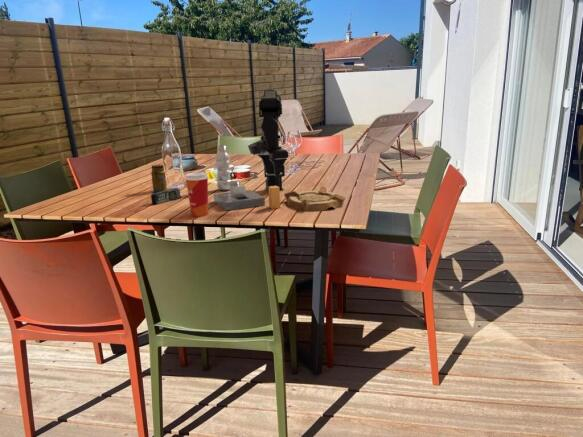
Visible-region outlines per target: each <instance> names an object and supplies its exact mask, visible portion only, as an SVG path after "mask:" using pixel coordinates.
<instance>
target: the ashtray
mask: <svg viewBox="0 0 583 437" xmlns="http://www.w3.org/2000/svg"><path fill="white" fill-rule="evenodd" d="M284 197H285V199H286V204H287V207H289V208H290V209H292V210H297V211H305V212H322V211H326V210H328V209H329V208H333V209H335V210H337V209H339V208H342V207H343V205H345V204H344V203H345V200H346V197H345V196H343V195H341V194H338V193H335V192H333V191H332V192H331V191H328V190H327V187H325V186H321V187H320V189H319V190H305V191H304V190H303V191H300V192H297V191H296V190H293V191H289V192H286V193H284Z"/></svg>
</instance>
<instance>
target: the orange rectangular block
mask: <svg viewBox="0 0 583 437" xmlns="http://www.w3.org/2000/svg"><path fill="white" fill-rule="evenodd" d="M268 189H269V190H268V207H269V209H272V210H273V209H281V197H280V196H281V195H280V191H281V190H280V188H279V187H278V186H270V187H268Z"/></svg>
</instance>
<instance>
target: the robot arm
mask: <svg viewBox="0 0 583 437" xmlns="http://www.w3.org/2000/svg"><path fill="white" fill-rule="evenodd" d="M263 93H264V94H263V95H262V96H261V97H260V100H258V117H259V118H262V123H261V131H262V135H261V136H260V140H258V141H255V142H253V143H251V144H249V145H247V147H248V150H249V152H250V154H251V155H253V156H256V155H257V157H259V158H260V159H261V160H262V161H261V162H262V163H263V170H264V171H263V172H264V174H263V175H264V178H265V190H267V191H269V189H268V187H270V186H278V187H279V188H280V191H283V190H284V188H283V178H284V177H285V176H286V174H285V172H286V171H285V170H286V168H285V163H286V161H287V160H288V158H289V155H290V154H289V151H288V150H286V149H284V148H282V146H280V139H282V138H281V135H279V133H280V130H279V118H280V117H282V116H281V115H283V103H282V97H281V96H280V95H279V94H278V91H277V89H266V90H263ZM289 159H290V158H289ZM282 177H283V178H282Z"/></svg>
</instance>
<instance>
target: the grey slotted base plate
mask: <svg viewBox="0 0 583 437" xmlns="http://www.w3.org/2000/svg"><path fill="white" fill-rule="evenodd" d="M229 190H230V192H221V193H214V194H213V201H214V203H216V204H217V205H218V206H219V207H220V208H222V209H223V210H224V211H231V210H238V209H246V208H254V207H260V206H261V207H262V206H265V205H266V203H265V202H266V198H265V197H264V196H262V195H260V194H259V193H258V192H255V191H254V190H252V189H247V190H246V185H244V184H241V183H240V180H231V181H230V189H229Z"/></svg>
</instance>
